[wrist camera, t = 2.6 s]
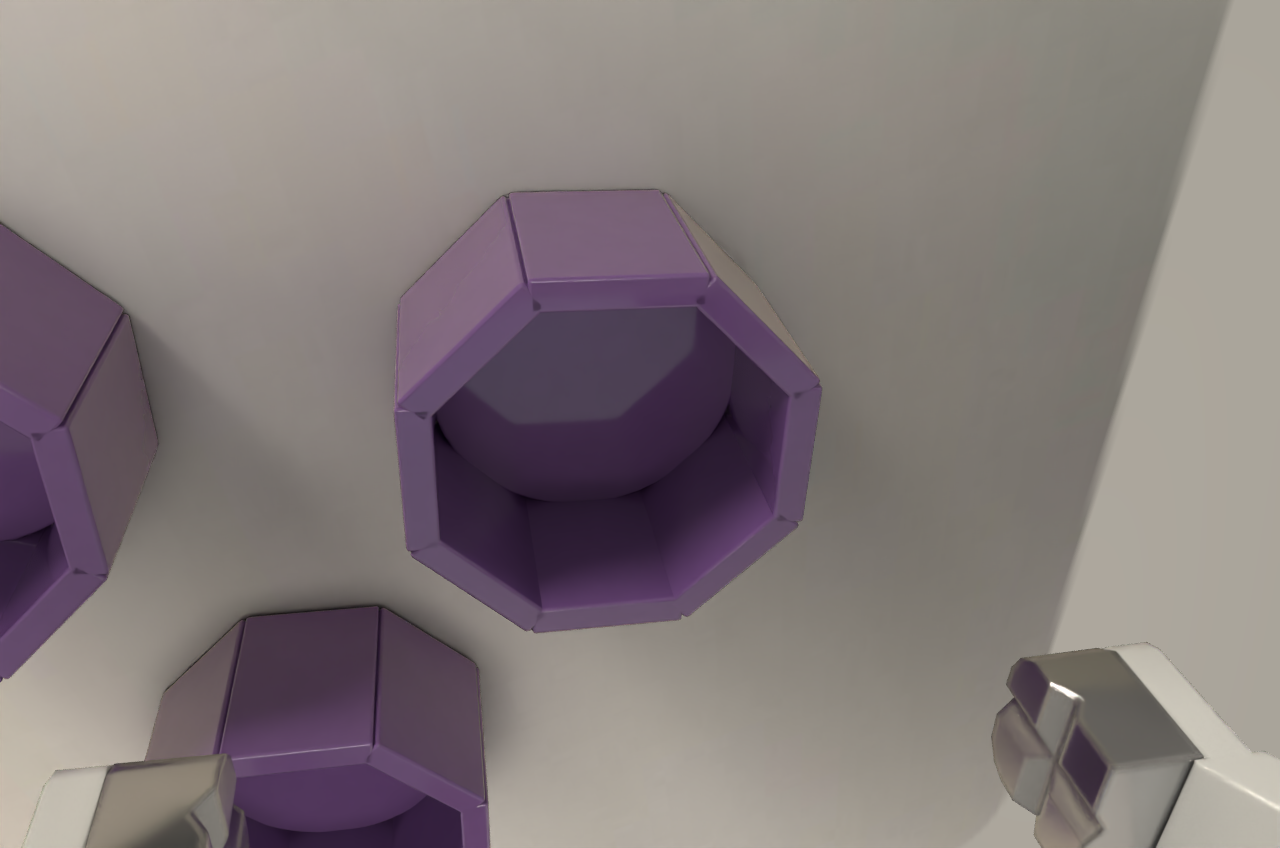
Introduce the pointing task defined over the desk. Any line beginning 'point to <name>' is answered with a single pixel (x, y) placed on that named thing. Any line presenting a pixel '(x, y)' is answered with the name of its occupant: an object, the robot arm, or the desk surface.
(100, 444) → the dish
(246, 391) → the desk surface
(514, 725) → the desk surface
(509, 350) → the dish
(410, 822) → the dish
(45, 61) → the desk surface
